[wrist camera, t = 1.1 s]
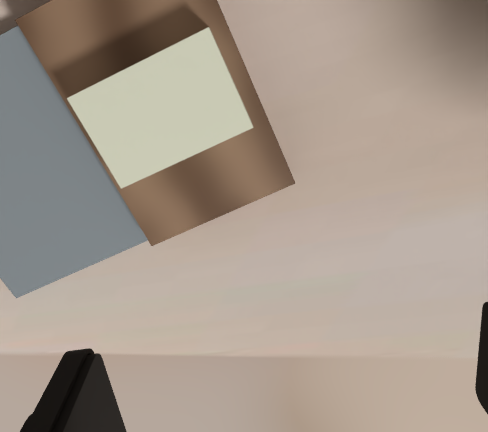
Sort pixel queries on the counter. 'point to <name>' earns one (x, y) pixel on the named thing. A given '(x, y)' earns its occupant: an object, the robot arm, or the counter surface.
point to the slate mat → (50, 181)
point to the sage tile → (162, 109)
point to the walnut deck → (133, 51)
